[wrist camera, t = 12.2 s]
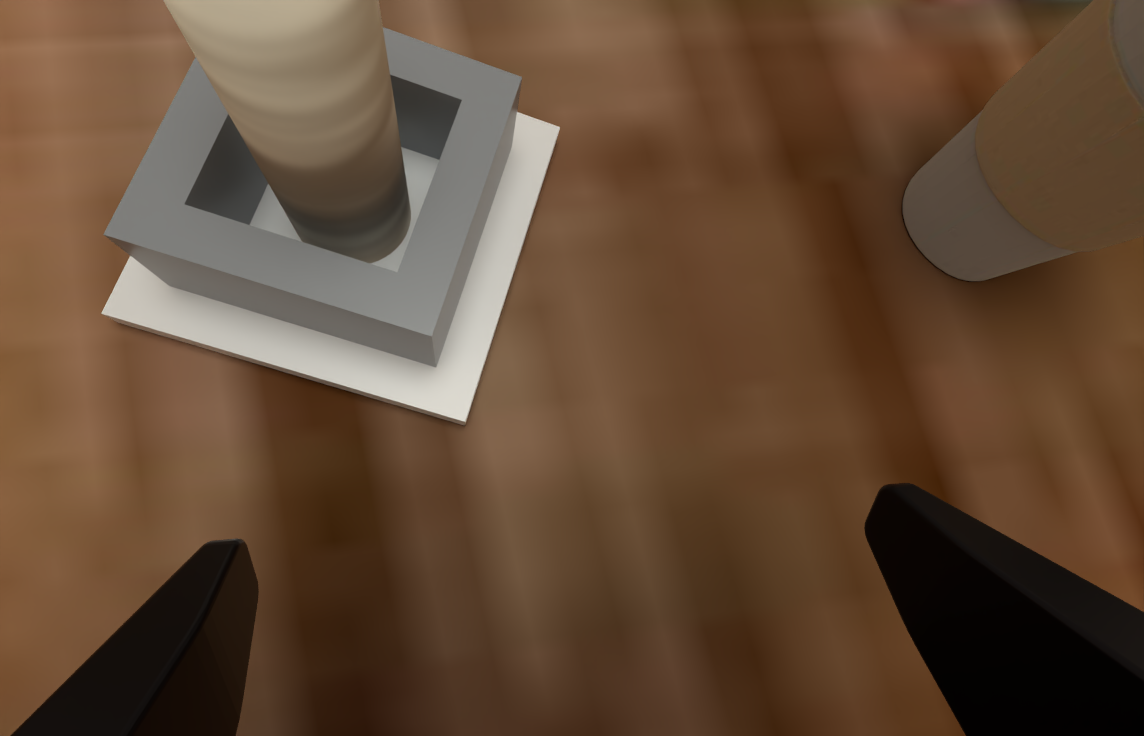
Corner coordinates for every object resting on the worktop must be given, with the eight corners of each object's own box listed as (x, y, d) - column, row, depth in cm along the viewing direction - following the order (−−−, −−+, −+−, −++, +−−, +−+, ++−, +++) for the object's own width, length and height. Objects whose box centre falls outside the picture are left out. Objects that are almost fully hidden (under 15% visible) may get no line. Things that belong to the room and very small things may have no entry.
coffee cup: (1066, 178, 30) (1637, -135, 15) (1033, 356, 27) (1680, 182, 13) (889, 93, 29) (1314, -319, 15) (839, 268, 26) (1294, -23, 12)
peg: (389, 280, 22) (299, -23, 10) (274, 244, 22) (24, -123, 9) (426, 183, 23) (389, -207, 11) (317, 146, 23) (145, -305, 10)
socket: (465, 425, 22) (467, 402, 18) (117, 322, 21) (17, 266, 16) (556, 141, 25) (579, 55, 21) (258, 37, 24) (208, -80, 19)
